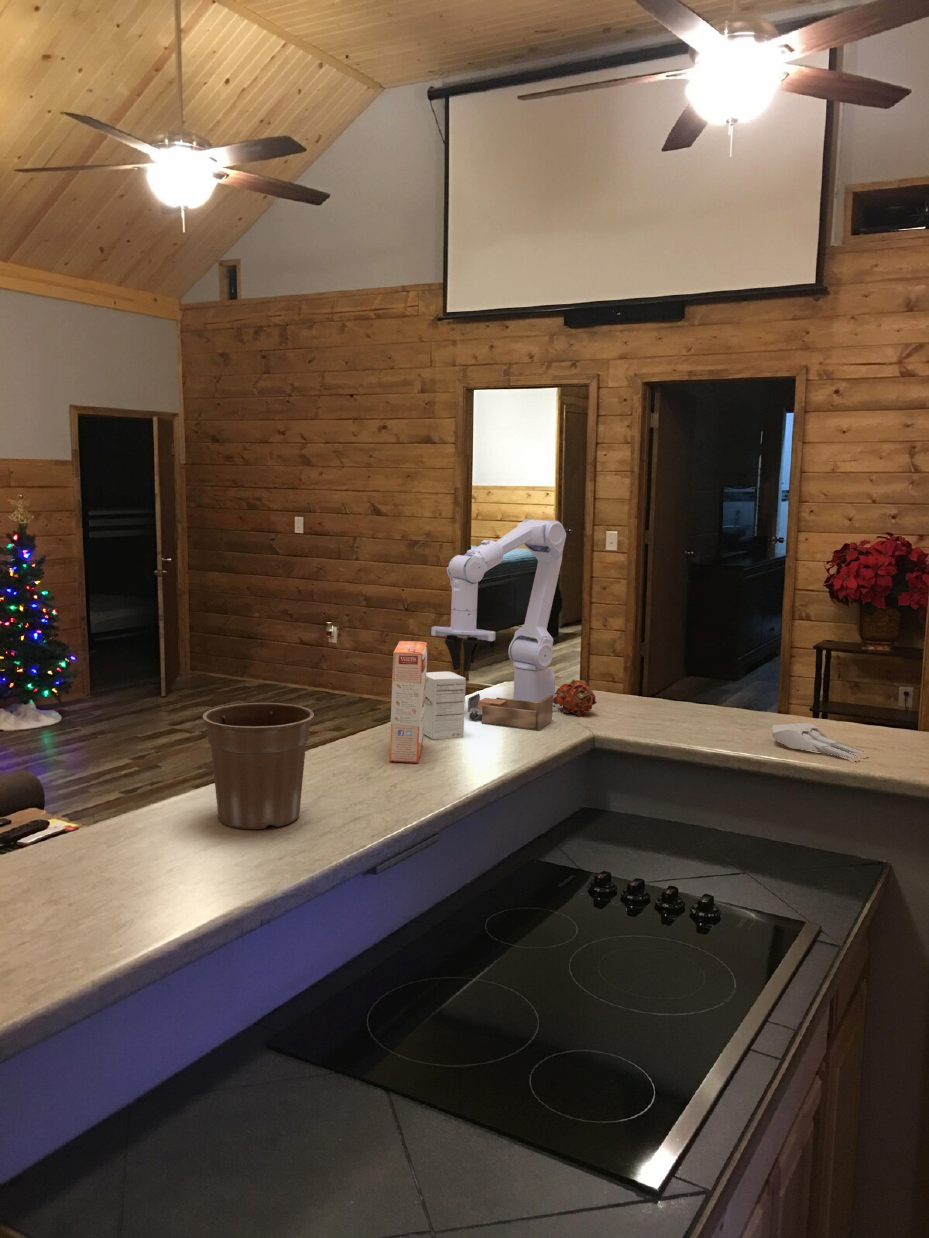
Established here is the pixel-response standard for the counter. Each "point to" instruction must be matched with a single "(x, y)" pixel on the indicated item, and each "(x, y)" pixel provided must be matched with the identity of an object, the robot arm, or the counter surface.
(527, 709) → the brown wooden open box
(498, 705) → the wheeled platform dolly
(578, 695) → the dragon fruit
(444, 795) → the counter surface
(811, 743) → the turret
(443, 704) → the supplement box
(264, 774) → the plant pot
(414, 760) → the cracker box
